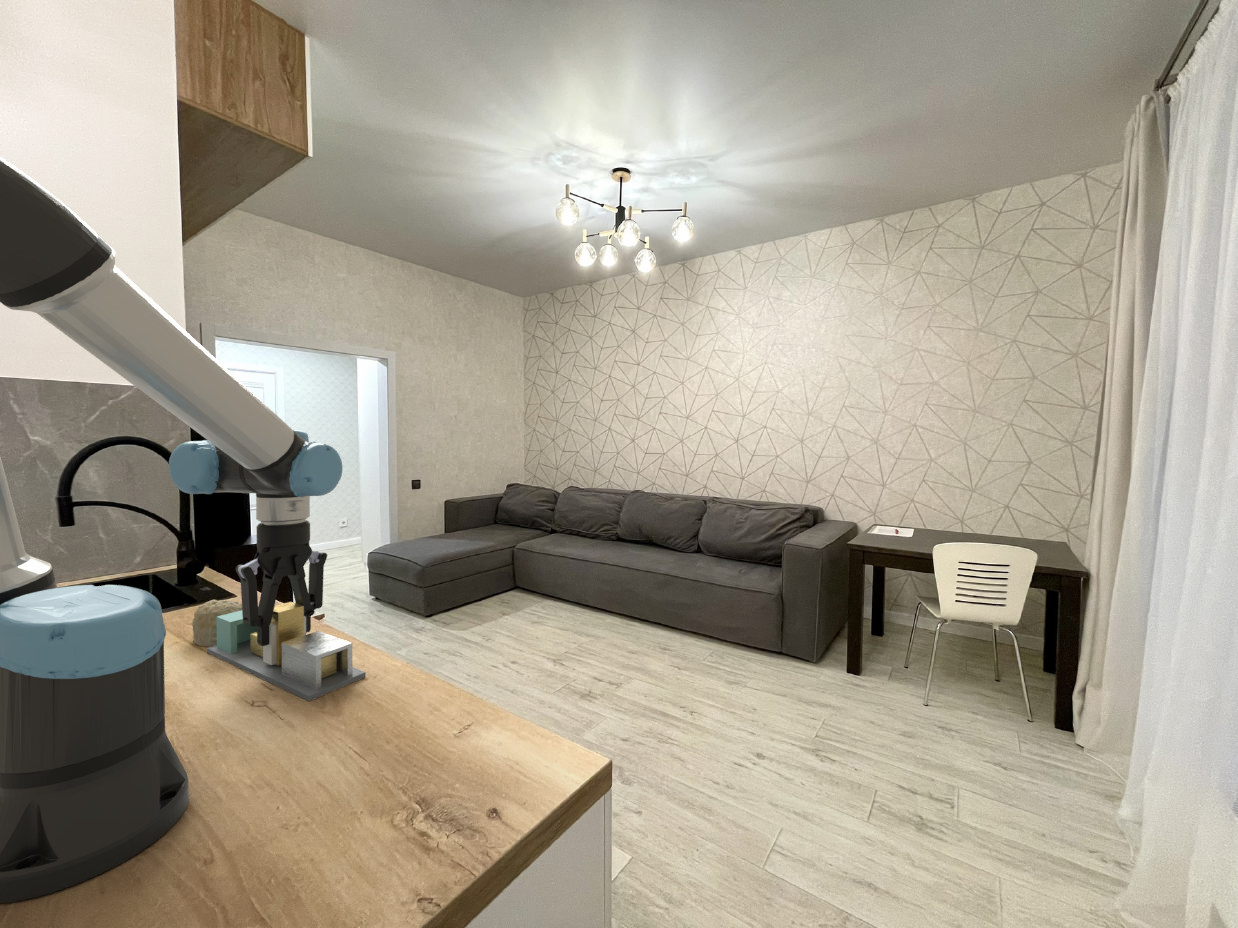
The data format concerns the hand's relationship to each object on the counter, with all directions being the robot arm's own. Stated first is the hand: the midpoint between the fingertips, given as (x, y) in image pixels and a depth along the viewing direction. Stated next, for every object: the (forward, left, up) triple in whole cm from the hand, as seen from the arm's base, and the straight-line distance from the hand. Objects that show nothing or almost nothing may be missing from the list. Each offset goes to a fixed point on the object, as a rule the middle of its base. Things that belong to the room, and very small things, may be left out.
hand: (285, 657), depth 86 cm
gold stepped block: (0, -2, 0) cm, 2 cm away
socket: (0, +13, -1) cm, 13 cm away
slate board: (0, +1, -1) cm, 2 cm away
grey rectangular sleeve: (0, -9, -1) cm, 10 cm away
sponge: (+1, +23, -2) cm, 23 cm away
